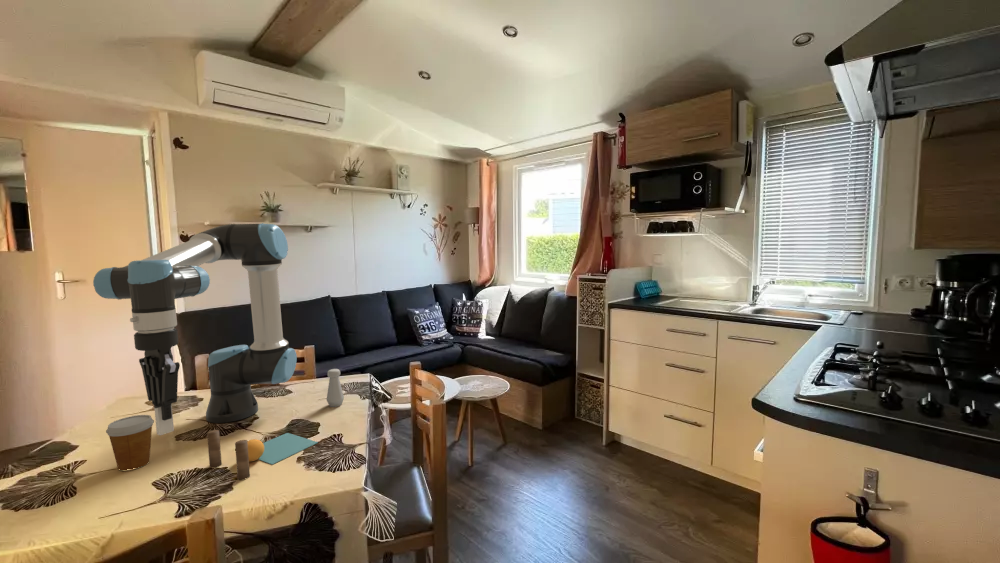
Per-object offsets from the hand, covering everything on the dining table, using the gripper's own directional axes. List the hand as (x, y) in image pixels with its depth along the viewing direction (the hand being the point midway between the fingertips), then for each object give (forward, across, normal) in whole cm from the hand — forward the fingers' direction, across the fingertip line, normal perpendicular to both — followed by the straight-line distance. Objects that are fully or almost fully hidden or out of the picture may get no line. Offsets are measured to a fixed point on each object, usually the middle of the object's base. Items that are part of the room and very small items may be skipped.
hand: (165, 432), depth 96 cm
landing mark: (+16, 0, +27) cm, 31 cm away
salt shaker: (+16, -13, +57) cm, 60 cm away
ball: (+13, 0, +19) cm, 23 cm away
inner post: (+16, -6, +13) cm, 21 cm away
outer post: (+15, +6, +13) cm, 21 cm away
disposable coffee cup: (+16, -26, +3) cm, 30 cm away
